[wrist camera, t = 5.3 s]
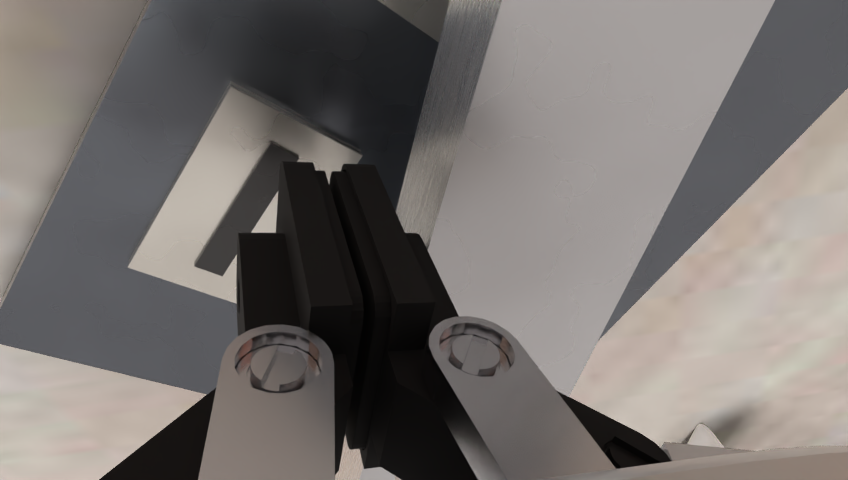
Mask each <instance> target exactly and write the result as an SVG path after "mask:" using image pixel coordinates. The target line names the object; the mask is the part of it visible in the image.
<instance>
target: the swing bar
mask: <svg viewBox="0 0 848 480" xmlns="http://www.w3.org/2000/svg"><path fill="white" fill-rule="evenodd" d="M774 1H775V0H450V1H449V4H448V8H447V12H446V16H445V20H444V24H443V28H442V32H441V36H440V40H439V44H438V48H437V52H436V55H435V59H434V63H433V67H432V71H431V75H430V79H429V83H428V87H427V91H426V95H425V99H424V103H423V106H422V110H421V114H420V118H419V122H418V126H417V130H416V134H415V138H414V142H413V146H412V150H411V154H410V157H409V161H408V165H407V169H406V173H405V177H404V181H403V185H402V189H401V193H400V197H399V201H398V205H397V208H396V214H397V216H398V218H399V221H400V223H401V225H402V227H403V230H404V232H405V233H417V234H419V235H420V237H421V238H422V240H423V242H424V244H425V246H426V248H427V250H428V252H429V254H430V257H431V259H432V261H433V263H434V265H435V267H436V269H437V271H438V273H439V275H440V278H441V280H442V282H443V284H444V286H445V288H446V290H447V292H448V294H449V297H450V299H451V301H452V303H453V305H454V307H455V309H456V311H457V313H458V315H459V316H471V317H477V318H483V319H485V320H488V321H491V322H493V323H496V324H498V325H499V326H501V327H502V328H504V329H506V330H507V331H509V332H510V333H511V334H512V335H513V336H514V337H515V338H516V339H517V340H518V341H519V343H520V344H521V345H522V347H523V348H524V349H525V351H526V352H527V353H528V354H529V356H530V357H531V358H532V360H533V361H534V362H535V364H536V365H537V366H538V368H539V369H540V370H541V371H542V373H543V374H544V375H545V377H546V378H547V379H548V381H549V382H550V383H551V384H552V386H553V387H554V388H555V390H556V391H558V392H560V393H562V394H564V395H566V396H568V397H569V396H570V394H571V392H572V390H573V388H574V386H575V384H576V382H577V380H578V378H579V376H580V375H581V373H582V371H583V369H584V367H585V365H586V363H587V361H588V359H589V357H590V355H591V353H592V351H593V350H594V348H595V346H596V344H597V342H598V340H599V338H600V336H601V334H602V332H603V330H604V328H605V326H606V325H607V323H608V321H609V319H610V317H611V315H612V313H613V311H614V309H615V307H616V305H617V303H618V301H619V300H620V298H621V296H622V294H623V292H624V290H625V288H626V286H627V284H628V282H629V280H630V278H631V276H632V275H633V273H634V271H635V269H636V267H637V265H638V263H639V261H640V259H641V257H642V255H643V253H644V251H645V250H646V248H647V246H648V244H649V242H650V240H651V238H652V236H653V234H654V232H655V230H656V228H657V226H658V225H659V223H660V221H661V219H662V217H663V215H664V213H665V211H666V209H667V207H668V205H669V203H670V201H671V200H672V198H673V196H674V194H675V192H676V190H677V188H678V186H679V184H680V182H681V180H682V178H683V176H684V175H685V173H686V171H687V169H688V167H689V165H690V163H691V161H692V159H693V157H694V155H695V153H696V151H697V150H698V148H699V146H700V144H701V142H702V140H703V138H704V136H705V134H706V132H707V130H708V128H709V126H710V125H711V123H712V121H713V119H714V117H715V115H716V113H717V111H718V109H719V107H720V105H721V103H722V101H723V100H724V98H725V96H726V94H727V92H728V90H729V88H730V86H731V84H732V82H733V80H734V78H735V76H736V75H737V73H738V71H739V69H740V67H741V65H742V63H743V61H744V59H745V57H746V55H747V53H748V51H749V50H750V48H751V46H752V44H753V42H754V40H755V38H756V36H757V34H758V32H759V30H760V28H761V26H762V25H763V23H764V21H765V19H766V17H767V15H768V13H769V11H770V9H771V7H772V5H773V3H774ZM335 480H395V475H393V474H391V473H390V472H388V471H387V470H385V469H383V468H382V467H377V468H368V469H364V467H363V463H362V458H361V454H360V450H359V449H353V450H350V449H349V447H348V444H347V440H346V436H345V438H344V444H343V450H342V456H341V461H340V467H339V471H338V472H337V474H336V475H335Z"/></svg>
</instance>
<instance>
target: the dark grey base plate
mask: <svg viewBox="0 0 848 480" xmlns="http://www.w3.org/2000/svg"><path fill="white" fill-rule="evenodd" d="M449 1H450V0H148V1H147V3H146V5H145V7H144V9H143V11H142V13H141V15H140V17H139V19H138V21H137V23H136V25H135V27H134V29H133V31H132V33H131V35H130V37H129V40H128V42H127V44H126V46H125V48H124V50H123V52H122V54H121V56H120V58H119V60H118V62H117V64H116V66H115V68H114V70H113V72H112V74H111V76H110V78H109V81H108V83H107V85H106V87H105V89H104V91H103V93H102V95H101V97H100V99H99V101H98V103H97V105H96V107H95V109H94V111H93V113H92V115H91V117H90V119H89V121H88V124H87V126H86V128H85V130H84V132H83V134H82V136H81V138H80V140H79V142H78V144H77V146H76V148H75V150H74V152H73V154H72V156H71V158H70V160H69V162H68V165H67V167H66V169H65V171H64V173H63V175H62V177H61V179H60V181H59V183H58V185H57V187H56V189H55V191H54V193H53V195H52V197H51V199H50V201H49V203H48V206H47V208H46V210H45V212H44V214H43V216H42V218H41V220H40V222H39V224H38V226H37V228H36V230H35V232H34V234H33V236H32V238H31V240H30V242H29V244H28V247H27V249H26V251H25V253H24V255H23V257H22V259H21V261H20V263H19V265H18V267H17V269H16V271H15V273H14V275H13V277H12V279H11V281H10V283H9V285H8V287H7V290H6V292H5V294H4V296H3V298H2V300H1V302H0V344H2V345H7V346H11V347H15V348H19V349H23V350H27V351H31V352H35V353H39V354H44V355H48V356H52V357H56V358H60V359H64V360H68V361H72V362H76V363H81V364H85V365H89V366H93V367H97V368H101V369H105V370H109V371H113V372H118V373H122V374H126V375H130V376H134V377H138V378H142V379H146V380H150V381H154V382H159V383H163V384H167V385H171V386H175V387H179V388H183V389H187V390H191V391H196V392H200V393H204V394H209V393H210V392H211V391H212V390H214V389H215V388H216V387H217V382H218V377H219V372H220V367H221V362H222V358H223V356H224V353H225V351H226V349H227V347H228V346H229V345H230V343H231V342H232V341H233V340H234V339H235V338H236V337H238V327H237V300H236V273H237V238H238V233H276V220H277V204H278V188H279V173H280V164H281V161H291V162H313V164H314V167H315V170H320V171H325V173H326V176H327V179H328V183H329V184H330V176H331V172H332V171H341V169H342V166H343V164H369V165H375V167H376V169H377V171H378V173H379V176H380V178H381V180H382V182H383V185H384V187H385V189H386V191H387V194H388V196H389V198H390V200H391V203H392V205H393V207H394V209H395V212H396V208H397V205H398V201H399V197H400V193H401V189H402V185H403V181H404V177H405V173H406V169H407V165H408V161H409V157H410V154H411V150H412V146H413V142H414V138H415V134H416V130H417V126H418V122H419V118H420V114H421V110H422V106H423V103H424V99H425V95H426V91H427V87H428V83H429V79H430V75H431V71H432V67H433V63H434V59H435V55H436V52H437V48H438V44H439V40H440V36H441V32H442V28H443V24H444V20H445V16H446V12H447V8H448V4H449ZM847 88H848V0H775V1H774V3H773V5H772V7H771V9H770V11H769V13H768V15H767V17H766V19H765V21H764V23H763V25H762V26H761V28H760V30H759V32H758V34H757V36H756V38H755V40H754V42H753V44H752V46H751V48H750V50H749V51H748V53H747V55H746V57H745V59H744V61H743V63H742V65H741V67H740V69H739V71H738V73H737V75H736V76H735V78H734V80H733V82H732V84H731V86H730V88H729V90H728V92H727V94H726V96H725V98H724V100H723V101H722V103H721V105H720V107H719V109H718V111H717V113H716V115H715V117H714V119H713V121H712V123H711V125H710V126H709V128H708V130H707V132H706V134H705V136H704V138H703V140H702V142H701V144H700V146H699V148H698V150H697V151H696V153H695V155H694V157H693V159H692V161H691V163H690V165H689V167H688V169H687V171H686V173H685V175H684V176H683V178H682V180H681V182H680V184H679V186H678V188H677V190H676V192H675V194H674V196H673V198H672V200H671V201H670V203H669V205H668V207H667V209H666V211H665V213H664V215H663V217H662V219H661V221H660V223H659V225H658V226H657V228H656V230H655V232H654V234H653V236H652V238H651V240H650V242H649V244H648V246H647V248H646V250H645V251H644V253H643V255H642V257H641V259H640V261H639V263H638V265H637V267H636V269H635V271H634V273H633V275H632V276H631V278H630V280H629V282H628V284H627V286H626V288H625V290H624V292H623V294H622V296H621V298H620V300H619V301H618V303H617V305H616V307H615V309H614V311H613V313H612V315H611V317H610V319H609V321H608V323H607V325H606V326H605V328H604V330H603V332H602V334H601V336H600V338H601V337H602V336H603V335H604V334H605V333H606V332H607V331H608V330H609V329H610V328H611V327H612V326H613V325H614V324H615V323H616V322H617V321H618V320H619V319H620V318H621V317H622V316H623V315H624V314H625V313H626V312H627V311H628V310H629V309H630V308H631V307H632V306H633V305H634V304H635V303H636V302H637V301H638V300H639V299H640V298H641V297H642V296H643V295H644V294H645V293H646V292H647V291H648V290H649V289H650V288H651V287H652V285H653V284H654V283H655V282H656V281H657V280H658V279H659V278H660V277H661V276H662V275H663V274H664V273H665V272H666V271H667V270H668V269H669V268H670V267H671V266H672V265H673V264H674V263H675V262H676V261H677V260H678V259H679V258H680V257H681V256H682V255H683V254H684V253H685V252H686V251H687V250H688V249H689V248H690V247H691V246H692V245H693V244H694V243H695V242H696V241H697V240H698V239H699V238H700V237H701V236H702V235H703V234H704V233H705V232H706V231H707V230H708V229H709V228H710V227H711V226H712V225H713V224H714V223H715V222H716V221H717V220H718V219H719V218H720V217H721V216H722V215H723V214H724V213H725V212H726V211H727V210H728V209H729V208H730V207H731V206H732V204H733V203H734V202H735V201H736V200H737V199H738V198H739V197H740V196H741V195H742V194H743V193H744V192H745V191H746V190H747V189H748V188H749V187H750V186H751V185H752V184H753V183H754V182H755V181H756V180H757V179H758V178H759V177H760V176H761V175H762V174H763V173H764V172H765V171H766V170H767V169H768V168H769V167H770V166H771V165H772V164H773V163H774V162H775V161H776V160H777V159H778V158H779V157H780V156H781V155H782V154H783V153H784V152H785V151H786V150H787V149H788V148H789V147H790V146H791V145H792V144H793V143H794V142H795V141H796V140H797V139H798V138H799V137H800V136H801V135H802V134H803V133H804V132H805V131H806V130H807V129H808V128H809V127H810V126H811V125H812V123H813V122H814V121H815V120H816V119H817V118H818V117H819V116H820V115H821V114H822V113H823V112H824V111H825V110H826V109H827V108H828V107H829V106H830V105H831V104H832V103H833V102H834V101H835V100H836V99H837V98H838V97H839V96H840V95H841V94H842V93H843V92H844V91H845V90H846V89H847ZM600 338H599V339H600Z"/></svg>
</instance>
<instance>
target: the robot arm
mask: <svg viewBox="0 0 848 480" xmlns="http://www.w3.org/2000/svg"><path fill="white" fill-rule="evenodd" d="M236 300H237V327H238V337H236V338H235V339H234V340H233V341H232V342H231V343H230V345H229V346H228V347H227V349H226V351H225V353H224V356H223V358H222V362H221V367H220V372H219V377H218V382H217V387H216V388H215V389H214V390H212V391H211V392H210V393H209V394H207V395H206V396H205V397H203V398H202V399H201V400H200V401H198V402H197V403H196V404H195V405H193V406H192V407H191V408H190V409H188V410H187V411H186V412H184V413H183V414H182V415H181V416H179V417H178V418H177V419H176V420H174V421H173V422H172V423H170V424H169V425H168V426H167V427H165V428H164V429H163V430H162V431H160V432H159V433H158V434H156V435H155V436H154V437H153V438H151V439H150V440H149V441H148V442H146V443H145V444H144V445H143V446H141V447H140V448H139V449H137V450H136V451H135V452H134V453H132V454H131V455H130V456H129V457H127V458H126V459H125V460H123V461H122V462H121V463H120V464H118V465H117V466H116V467H115V468H113V469H112V470H111V471H109V472H108V473H107V474H106V475H104V476H103V477H102V478H101V479H99V480H335V475H336V474H337V472H338V471H339V467H340V461H341V456H342V450H343V444H344V438H345V436H346V440H347V444H348V447H349V449H350V450H353V449H359V450H360V454H361V458H362V463H363V467H364V469H368V468H377V467H382V468H383V469H385V470H387V471H388V472H390V473H391V474H393V475H395V480H848V446H811V447H796V448H779V449H770V450H761V451H751V450H741V449H731V448H720V447H710V446H700V445H690V444H680V443H670V442H664V444H663V445H662V447H661V448H660V447H659V446H658V445H657V444H656V443H654V442H653V441H651V440H650V439H648V438H647V437H645V436H644V435H642V434H640V433H639V432H637V431H635V430H633V429H631V428H629V427H627V426H625V425H623V424H621V423H619V422H617V421H615V420H613V419H611V418H609V417H607V416H605V415H603V414H601V413H599V412H597V411H595V410H593V409H591V408H590V407H588V406H586V405H584V404H582V403H580V402H578V401H576V400H574V399H572V398H570V397H568V396H566V395H564V394H562V393H560V392H558V391H556V390H555V388H554V387H553V386H552V384H551V383H550V382H549V381H548V379H547V378H546V377H545V375H544V374H543V373H542V371H541V370H540V369H539V368H538V366H537V365H536V364H535V362H534V361H533V360H532V358H531V357H530V356H529V354H528V353H527V352H526V351H525V349H524V348H523V347H522V345H521V344H520V343H519V341H518V340H517V339H516V338H515V337H514V336H513V335H512V334H511V333H510V332H509V331H507V330H506V329H504V328H502V327H501V326H499V325H498V324H496V323H493V322H491V321H488V320H485V319H483V318H477V317H471V316H459V315H458V313H457V311H456V309H455V307H454V305H453V303H452V301H451V299H450V297H449V294H448V292H447V290H446V288H445V286H444V284H443V282H442V280H441V278H440V275H439V273H438V271H437V269H436V267H435V265H434V263H433V261H432V259H431V257H430V254H429V252H428V250H427V248H426V246H425V244H424V242H423V240H422V238H421V237H420V235H419V234H417V233H405V232H404V230H403V227H402V225H401V223H400V221H399V218H398V216H397V214H396V212H395V209H394V207H393V205H392V203H391V200H390V198H389V196H388V194H387V191H386V189H385V187H384V185H383V182H382V180H381V178H380V176H379V173H378V171H377V169H376V167H375V165H369V164H343V166H342V169H341V171H332V172H331V176H330V184H329V183H328V179H327V176H326V173H325V171H320V170H315V167H314V164H313V162H291V161H281V164H280V173H279V188H278V204H277V220H276V233H238V238H237V273H236Z"/></svg>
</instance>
